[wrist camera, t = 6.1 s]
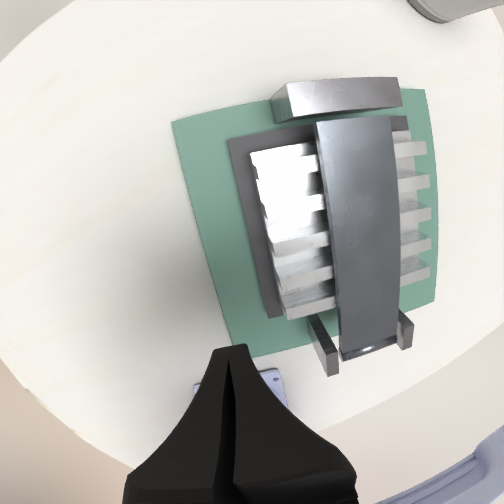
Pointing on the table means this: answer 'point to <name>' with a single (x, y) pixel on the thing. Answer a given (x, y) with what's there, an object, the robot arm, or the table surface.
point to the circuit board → (250, 218)
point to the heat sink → (314, 204)
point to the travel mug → (452, 8)
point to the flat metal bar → (362, 229)
